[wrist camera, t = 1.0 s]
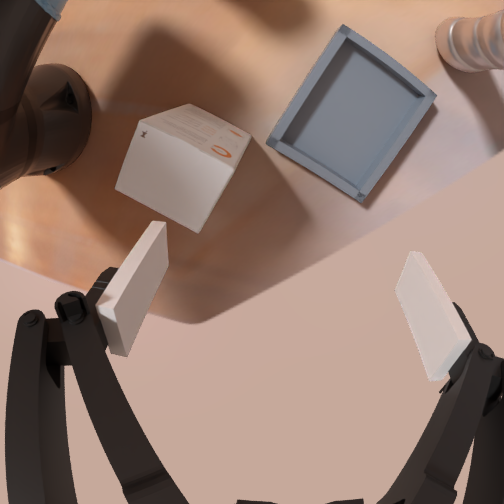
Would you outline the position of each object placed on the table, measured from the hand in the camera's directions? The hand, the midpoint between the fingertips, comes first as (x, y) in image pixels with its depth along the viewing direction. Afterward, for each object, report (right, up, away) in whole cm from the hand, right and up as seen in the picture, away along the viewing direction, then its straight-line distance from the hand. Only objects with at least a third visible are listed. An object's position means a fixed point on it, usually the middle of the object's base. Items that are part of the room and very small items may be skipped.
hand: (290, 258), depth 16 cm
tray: (+8, +15, +14) cm, 22 cm away
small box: (-7, +13, +17) cm, 22 cm away
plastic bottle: (+21, +23, +7) cm, 32 cm away
